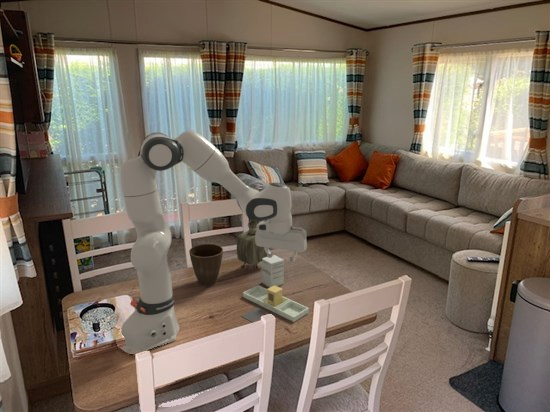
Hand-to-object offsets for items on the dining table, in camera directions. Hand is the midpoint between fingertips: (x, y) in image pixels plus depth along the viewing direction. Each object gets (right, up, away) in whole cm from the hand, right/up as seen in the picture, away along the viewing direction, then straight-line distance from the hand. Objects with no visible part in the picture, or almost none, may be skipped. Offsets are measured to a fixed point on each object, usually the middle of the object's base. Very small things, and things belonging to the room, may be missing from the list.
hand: (281, 258), depth 156 cm
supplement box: (-3, -15, +28) cm, 32 cm away
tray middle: (-3, -20, +10) cm, 23 cm away
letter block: (-3, -20, +10) cm, 22 cm away
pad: (-9, -23, +2) cm, 25 cm away
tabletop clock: (-13, -10, +45) cm, 48 cm away
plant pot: (-33, -15, +29) cm, 47 cm away
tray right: (+4, -22, +4) cm, 23 cm away
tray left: (-10, -19, +16) cm, 27 cm away
